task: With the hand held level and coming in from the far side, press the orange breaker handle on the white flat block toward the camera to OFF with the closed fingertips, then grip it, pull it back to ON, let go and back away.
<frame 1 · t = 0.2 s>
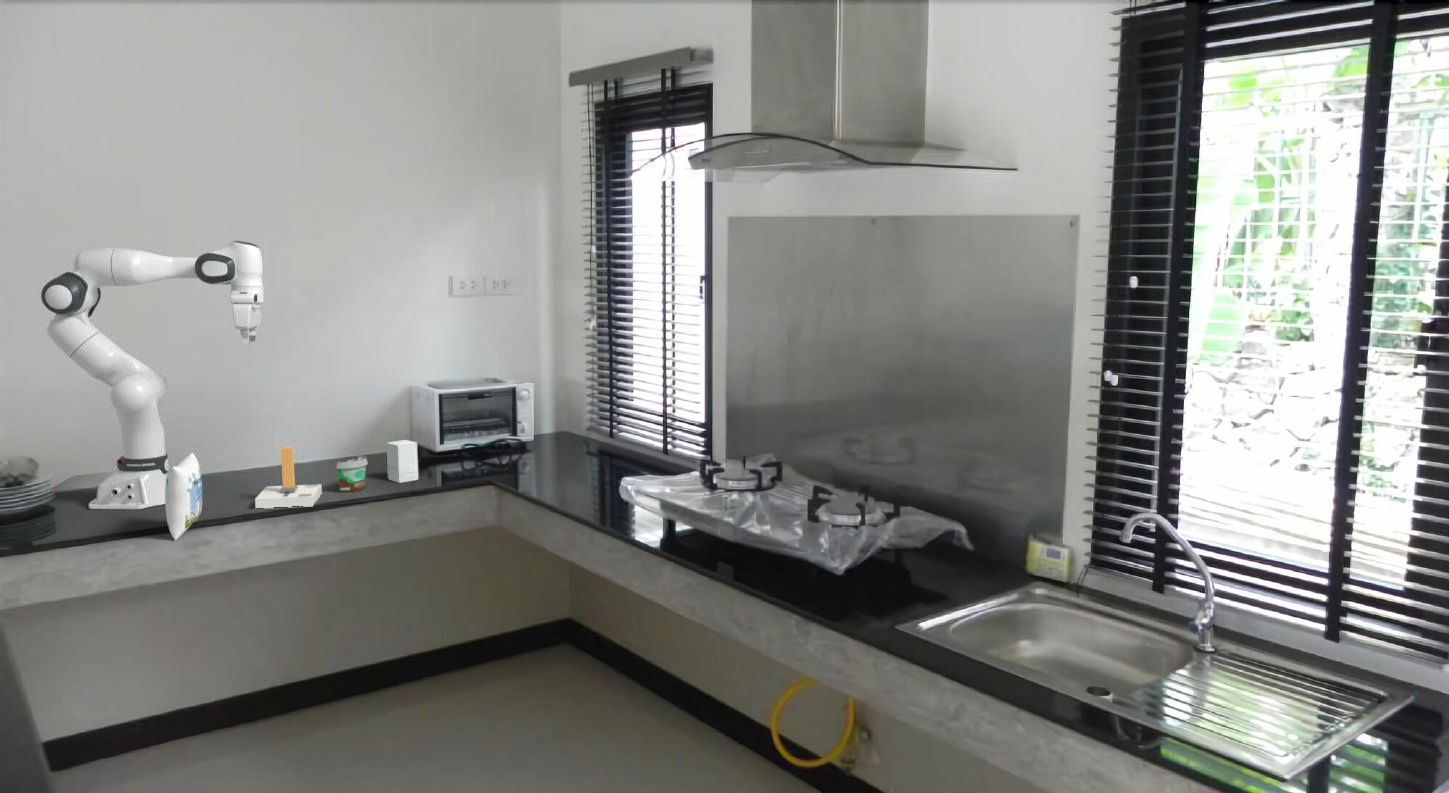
hand: (249, 342, 318), 48 cm above the worktop, tool pointing down, fingers open, 8 cm apart
white flat block: (289, 501, 321), on the worktop
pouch: (186, 531, 288), on the worktop
supplement box: (403, 480, 351), on the worktop
breaker handle: (288, 469, 319), point 10 cm above the worktop, slide at 0.0 cm
food container: (357, 490, 336), on the worktop
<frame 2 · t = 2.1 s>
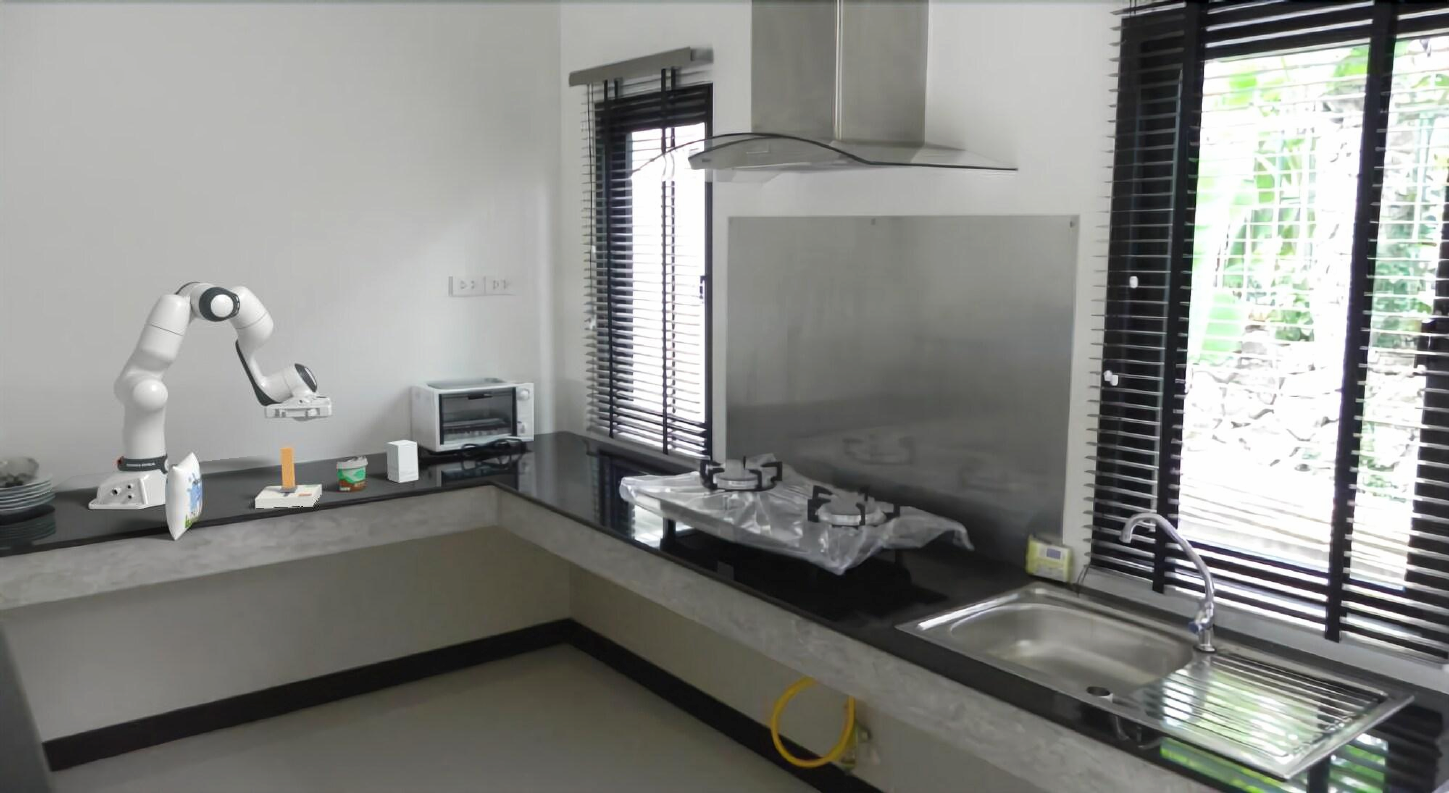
hand: (294, 414, 332), 24 cm above the worktop, tool horizontal, fingers open, 6 cm apart
nothing on the worktop moved.
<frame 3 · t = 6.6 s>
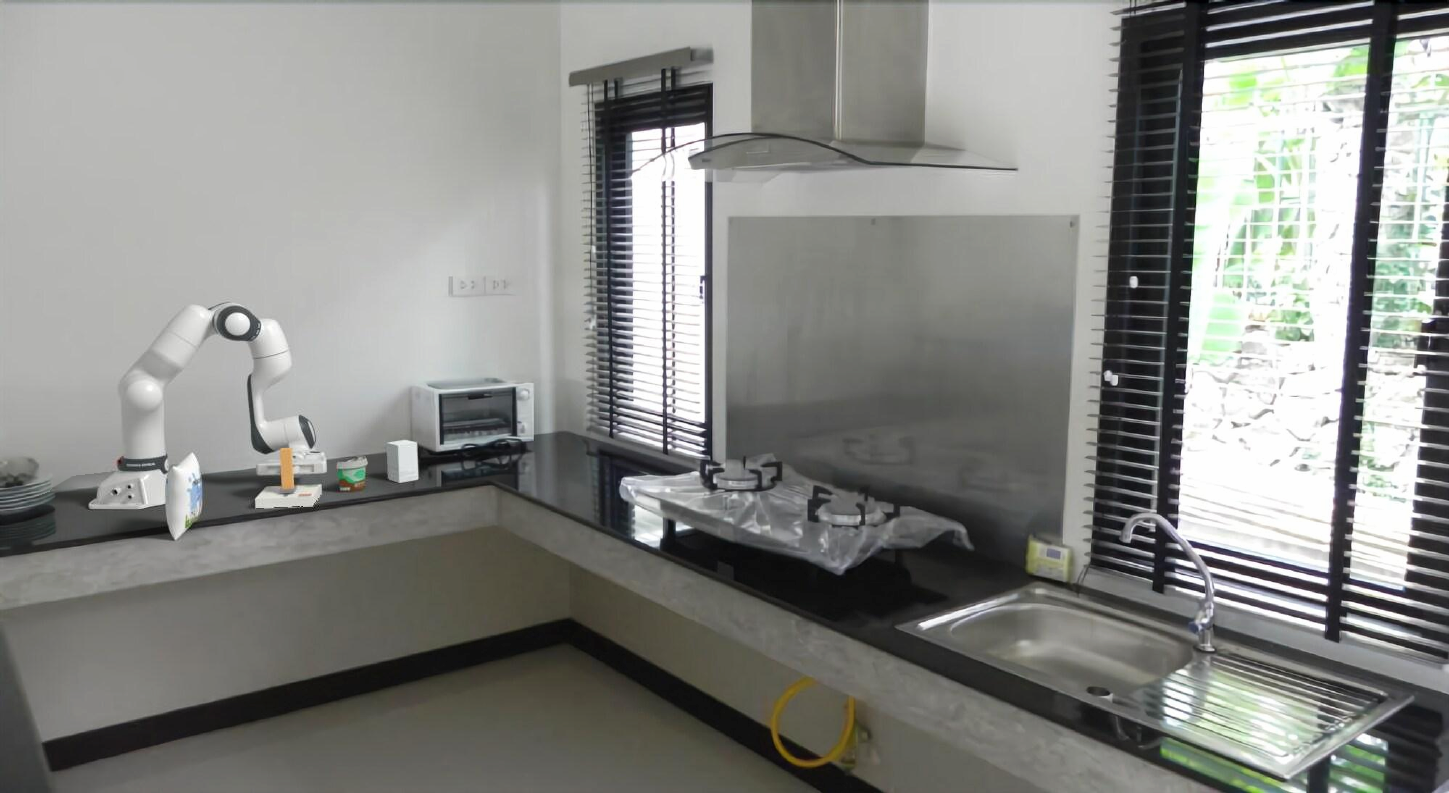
hand: (287, 472, 319), 9 cm above the worktop, tool horizontal, fingers closed, pressing on breaker handle
breaker handle: (287, 470, 318), point 10 cm above the worktop, slide at -1.5 cm, touching gripper
everything else where it was.
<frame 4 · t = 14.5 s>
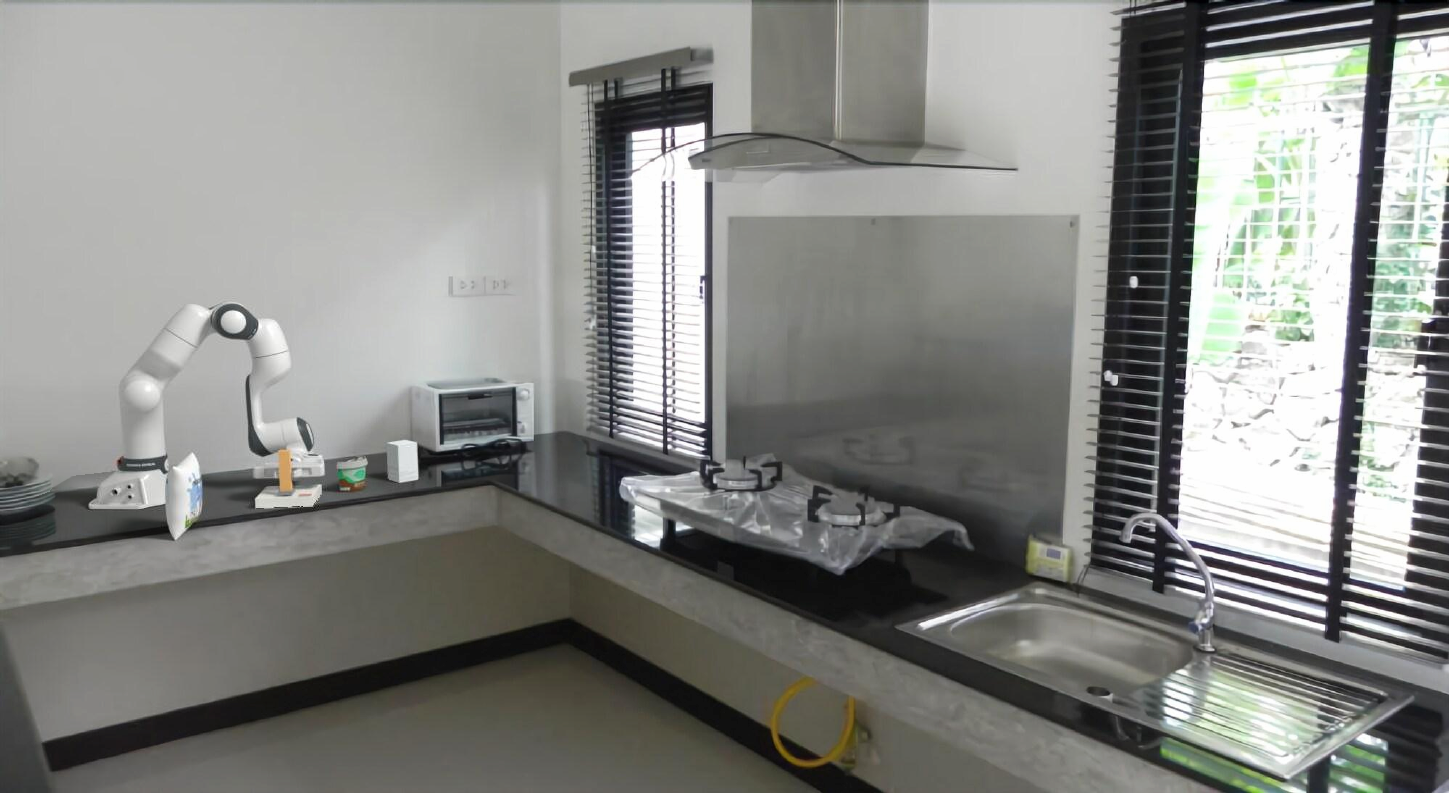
hand: (285, 475, 315), 9 cm above the worktop, tool horizontal, fingers closed on breaker handle, 3 cm apart
breaker handle: (285, 471, 316), point 10 cm above the worktop, slide at -4.1 cm, touching gripper
everything else where it was.
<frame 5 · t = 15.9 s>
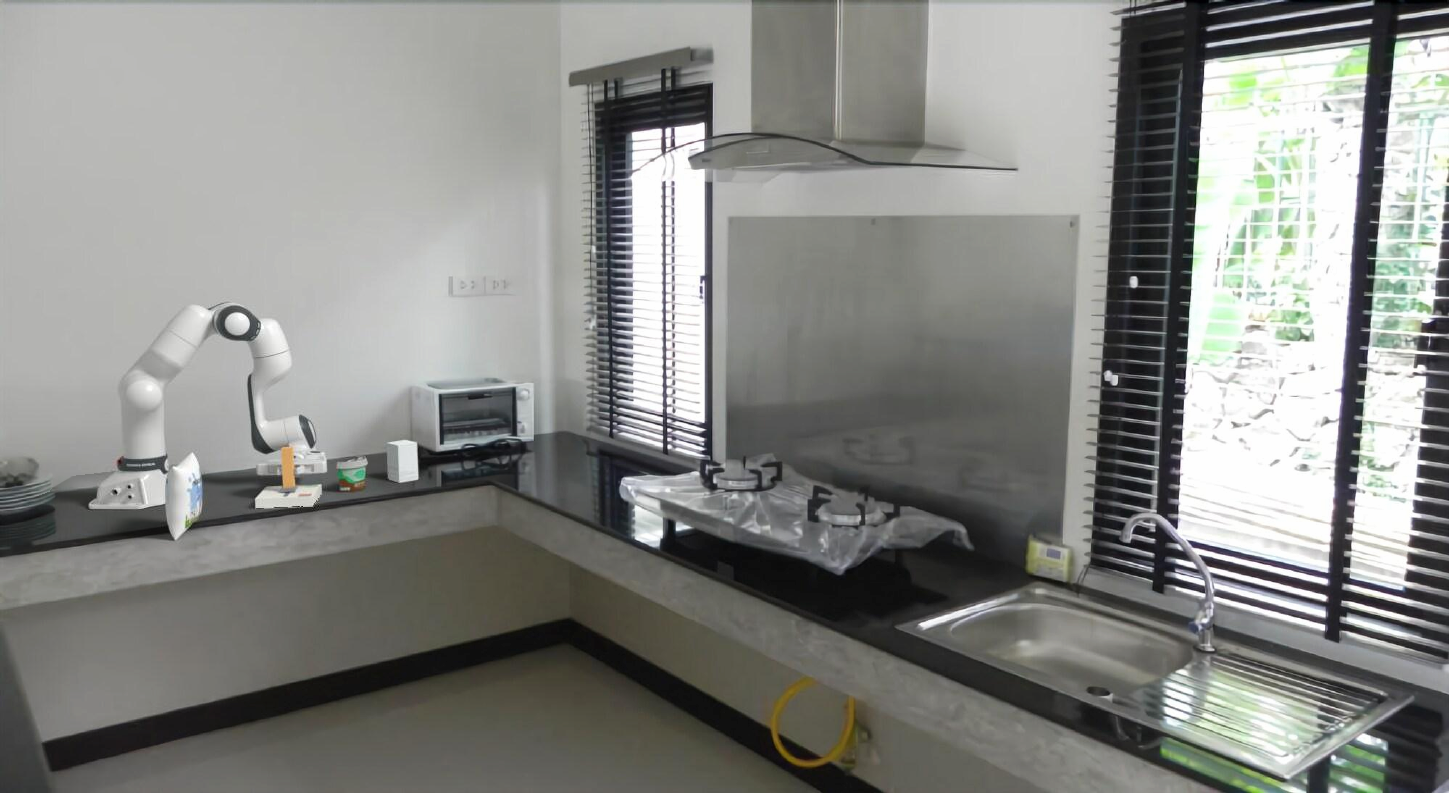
hand: (287, 472, 319), 9 cm above the worktop, tool horizontal, fingers closed on breaker handle, 3 cm apart
breaker handle: (288, 468, 320), point 10 cm above the worktop, slide at 0.4 cm, touching gripper
everything else where it was.
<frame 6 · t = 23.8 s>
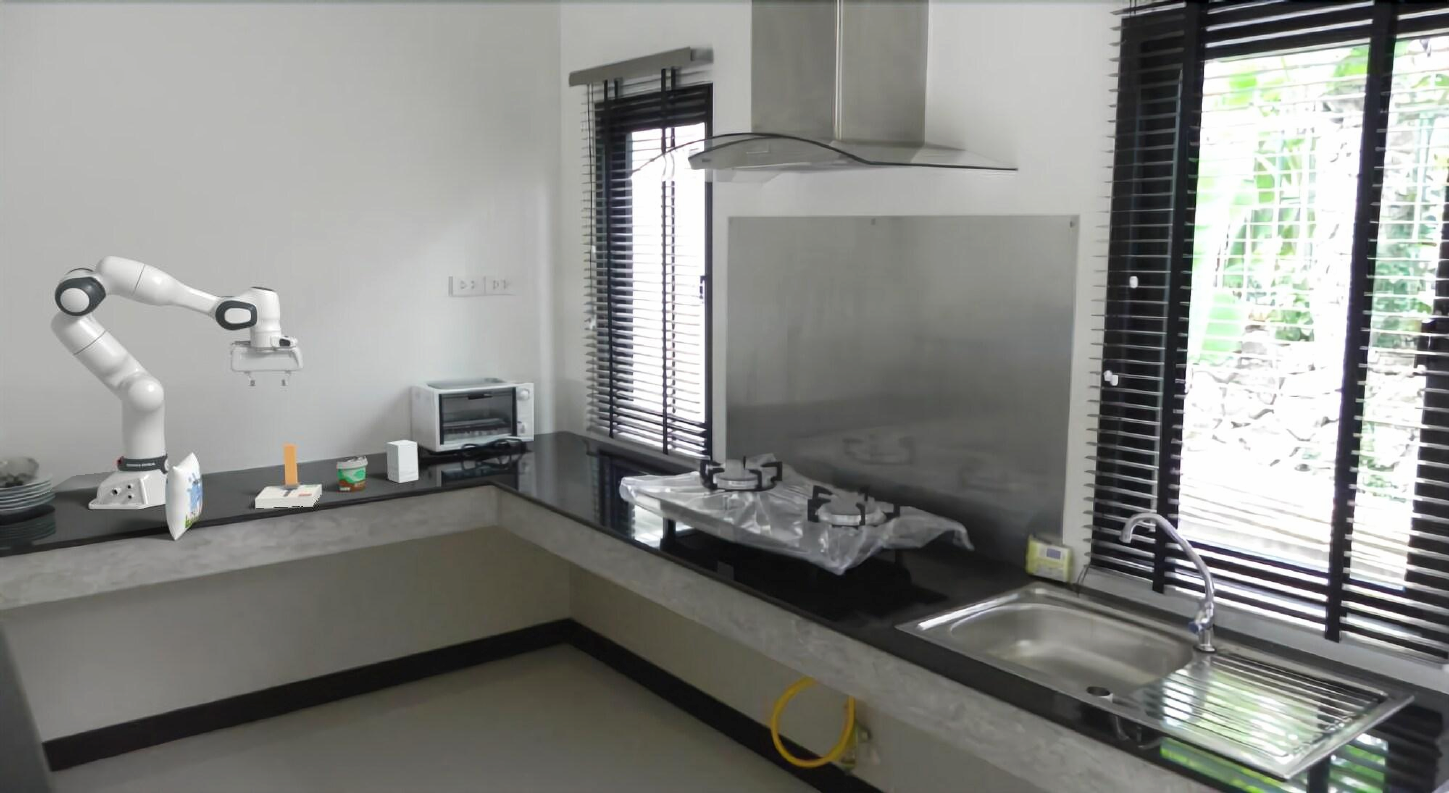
hand: (268, 385, 323), 34 cm above the worktop, tool pointing down, fingers open, 8 cm apart
breaker handle: (290, 466, 324), point 10 cm above the worktop, slide at 4.4 cm
everything else where it was.
at the end: breaker handle slide at 4.4 cm; the gripper is holding nothing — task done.
